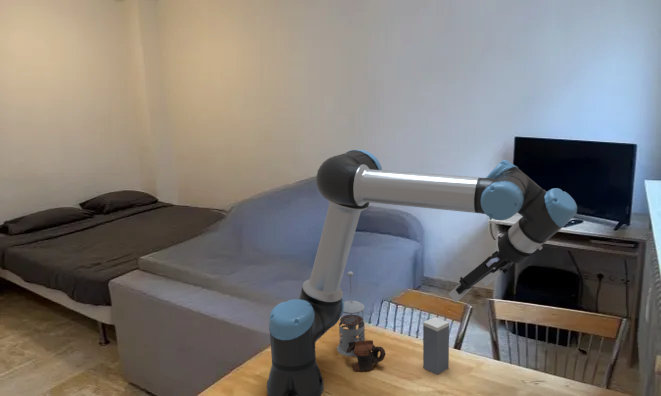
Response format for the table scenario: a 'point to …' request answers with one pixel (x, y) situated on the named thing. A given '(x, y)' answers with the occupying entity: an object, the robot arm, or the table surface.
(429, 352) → the grey rectangular block
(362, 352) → the pottery mug
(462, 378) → the table surface
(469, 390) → the table surface
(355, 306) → the french press
